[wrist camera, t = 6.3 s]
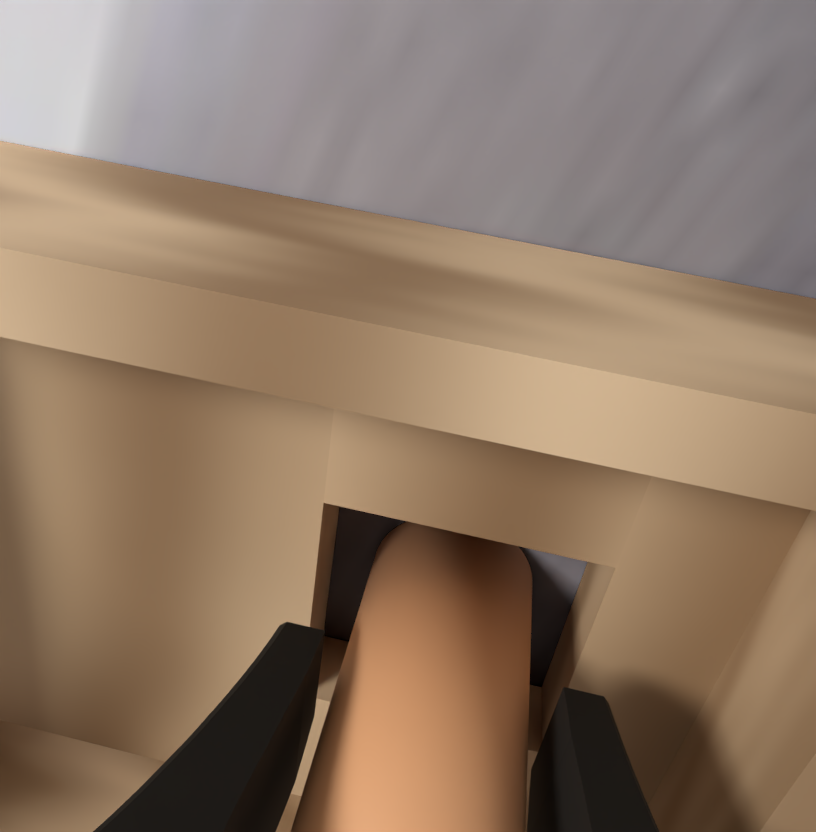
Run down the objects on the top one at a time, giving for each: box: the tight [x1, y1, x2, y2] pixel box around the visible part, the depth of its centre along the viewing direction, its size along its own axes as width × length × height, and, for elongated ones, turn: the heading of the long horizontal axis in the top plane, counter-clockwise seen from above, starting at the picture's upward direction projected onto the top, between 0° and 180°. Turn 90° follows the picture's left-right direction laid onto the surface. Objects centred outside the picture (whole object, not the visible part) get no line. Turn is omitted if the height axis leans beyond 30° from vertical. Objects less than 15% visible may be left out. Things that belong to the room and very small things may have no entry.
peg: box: [291, 521, 532, 832], centre depth 10 cm, size 3×3×8 cm
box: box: [0, 141, 816, 832], centre depth 12 cm, size 16×13×4 cm
